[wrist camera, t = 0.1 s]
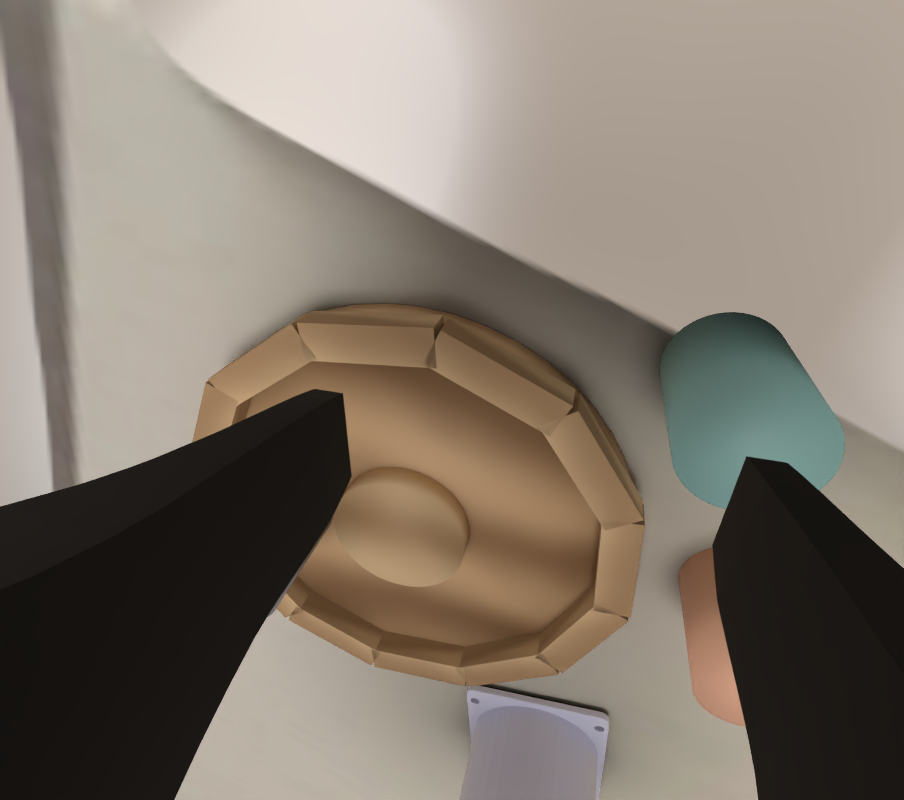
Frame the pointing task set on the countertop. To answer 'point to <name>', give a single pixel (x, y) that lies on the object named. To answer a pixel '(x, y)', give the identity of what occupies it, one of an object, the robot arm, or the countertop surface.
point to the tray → (451, 495)
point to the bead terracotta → (707, 640)
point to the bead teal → (742, 406)
